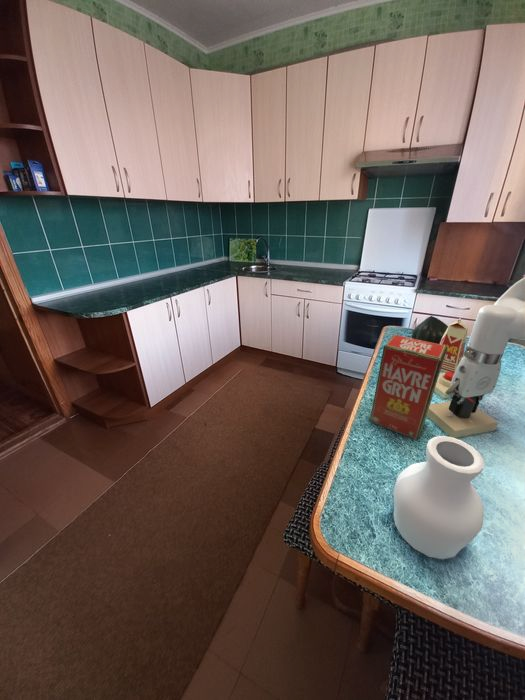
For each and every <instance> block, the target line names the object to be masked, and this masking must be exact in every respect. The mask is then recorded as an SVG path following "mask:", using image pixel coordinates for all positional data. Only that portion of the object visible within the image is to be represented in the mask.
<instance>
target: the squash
mask: <svg viewBox="0 0 525 700" xmlns="http://www.w3.org/2000/svg"><path fill="white" fill-rule="evenodd" d="M448 326H449V325H448V324H446V323H445V322H444V321H442V320H441V319H439V318H438V317H435V316H433V315H430V316H428V317H426V318H425V319H424V320H423V321H422V322H420V323H419V324H417V325H416V327H415V328H413V331H412V333H411V338H413V339H417V340H422V341H426V342H431V343H436V344H440V341H441V339H442V337H443V335H444V333H445V332H446V330H447V328H448Z"/></svg>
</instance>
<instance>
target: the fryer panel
mask: <svg viewBox="0 0 525 700" xmlns="http://www.w3.org/2000/svg"><path fill="white" fill-rule="evenodd" d="M450 403H451V400H449V401H444V402H438V403H433V404H430V407H429V410H428V413H427V416H426V418H428V419H429V420H431V421H432V422H433V423H434V424H435V425H436V426H437V427H438V428H439V429H440V430H441V431H443V432H444V433H445V434H446V436H447V437H453V438H456V439H458V438H463V437H468V436H473V435H474V436H475V435H478V434H483V433H484V434H485V433H488V432H493V431H496V429H497V428H498V425H499V423H500V422H499V421H498V420H496V419H495V418H494V417H493V416H491V415H489V414H488V413H486V412H485V411H484V410H482V409H481V408H479V406H478V407H477V409H476V412H475V413H472V412H471V415H470V417H469V418H460V417H457V416H456V415H454V414H453V413H452V412H451V411H450V410H449V406H450Z"/></svg>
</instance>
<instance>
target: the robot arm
mask: <svg viewBox="0 0 525 700" xmlns="http://www.w3.org/2000/svg"><path fill="white" fill-rule="evenodd" d="M511 339H514V340H522V341H525V276H524V277H523V278H521V279H519V280H518V281H516V282H515V283H514V284H512V285H511V286H510V287H509V288H508V289H507V290H506V291H505V292H504V293H503V294H502V295H500V297H499V298H497V300H496V301H495V302H494V304H486V305H484V306H481V307H480V308H479V310H478V313H477V316H476V318H475V321H474V323H473V327H472V330H471V333H470V335H469V339H468V342H467V343H466V344H467V345H466V346H465V350H464V356H463V357H462V359H461V361H460V363H459V364H458V366H457V368H456V371H455V373H454V375H453V378H452V381H451V385H450V388H449V389H448V390H447V391H446V392H445V393H446V394H447V395H448V396H450V399H451V400H450V401H451V403H450V406H449V410H450V411H451V412H452V413H454V414H455V415H456V416H459V415H460V412H461V409H462V407H463V404H462V402H463V400H464V399H465V398H466V397H474V398H475V399H476V402H475V405H474V407H473V410H472V413H475V412H476V409H477V407H478V408H479V404H480V402H481V401H482V400H483V399H484V396H485V395H490V394H491V393H493V392H494V390H495V388H496V386H497V382H498V380H499V377H500V373H501V368H502V358H503V356H504V353H505V351H506V348H507V345H508V344H509V341H510V340H511ZM458 394H460V395H461V396H460V397H459V398H458V396H457V395H458Z"/></svg>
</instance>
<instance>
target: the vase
mask: <svg viewBox="0 0 525 700" xmlns="http://www.w3.org/2000/svg"><path fill="white" fill-rule="evenodd" d="M425 456H426V461H420V462H415V463H412V464H410V465H408V466H407V467H406V468H404V469H402V471H401V472H399V474H398V476H397V479H396V481H395V484H394V487H393V493H392V494H393V496H392V497H393V507H394V508H393V519H394V524H395V527H396V529H397V531H398V532H399V534H400V536H401V537H402V539H403V540H404V541H406V542H407V544H408V545H410V546H411V548H412V549H415V550H416V551H418V552H419V553H421V554H423V555H425V556H426V557H429V558H434V559H438V560H446V559H450V558H454V557H456V555H457V554H459V552H460V551H461V550H462V549H464V548H465V547H467V546H468V545H470V543H471V542H473V540H475V538H476V537H477V536H478V535H479V534H480V533H481V531H482V529H483V526H484V516H485V515H484V505H483V502H482V499H481V498H480V495H479V493H478V492H477V490H476V488H475V486H474V485H473V483H471V482H472V481H473V480H475V479H477V477H478V476H479V475H480V474H482V472H483V470H484V467H485V460H484V459H483V457H482V455H481V454H480V452H479V451H478V450H477V449H475V448H474V447H473V446H472V445H471V444H469V443H467V442H465V441H464V440H461V439H458V438H453V437H450V436H448V435H446V436H445V435H438V436H433V437H432V438H430V439H429V440H428V441H427V444H426V447H425Z"/></svg>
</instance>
